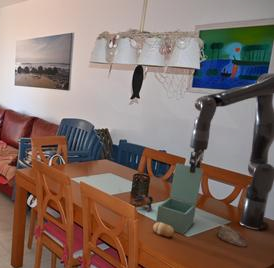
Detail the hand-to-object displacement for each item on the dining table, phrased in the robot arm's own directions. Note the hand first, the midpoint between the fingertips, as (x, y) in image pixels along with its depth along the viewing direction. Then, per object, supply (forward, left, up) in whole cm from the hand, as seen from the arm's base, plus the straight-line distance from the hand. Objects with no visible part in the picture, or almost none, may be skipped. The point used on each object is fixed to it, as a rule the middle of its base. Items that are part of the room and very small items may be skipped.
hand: (194, 171), depth 163 cm
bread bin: (+3, +9, -26) cm, 28 cm away
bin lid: (+3, 0, -7) cm, 8 cm away
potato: (+3, +25, -26) cm, 36 cm away
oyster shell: (-21, +5, -26) cm, 34 cm away
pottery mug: (+22, +1, -26) cm, 34 cm away
